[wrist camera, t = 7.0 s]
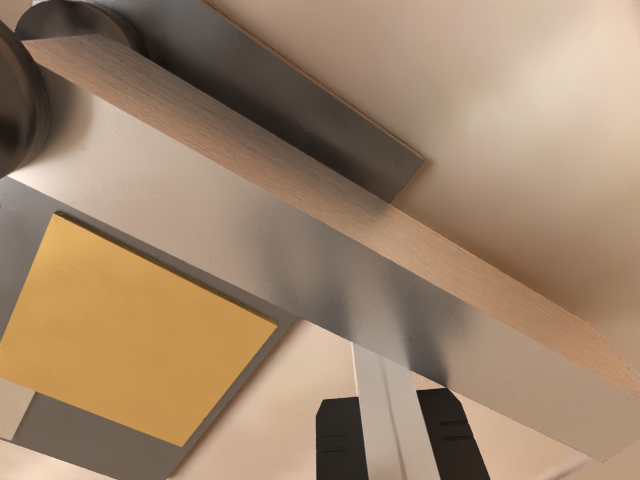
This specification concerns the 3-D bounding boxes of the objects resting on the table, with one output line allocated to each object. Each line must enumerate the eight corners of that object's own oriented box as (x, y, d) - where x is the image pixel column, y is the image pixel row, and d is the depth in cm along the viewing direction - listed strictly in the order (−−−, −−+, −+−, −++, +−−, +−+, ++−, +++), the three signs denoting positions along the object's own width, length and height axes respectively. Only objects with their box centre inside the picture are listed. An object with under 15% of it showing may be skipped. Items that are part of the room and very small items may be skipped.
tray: (78, -89, 11) (29, -109, 9) (419, 153, 15) (434, 174, 13) (-77, 393, 20) (-119, 434, 18) (160, 478, 23) (146, 520, 21)
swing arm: (-6, 85, 11) (-213, 132, 7) (23, -35, 10) (-208, -75, 6) (532, 372, 16) (612, 503, 12) (597, 316, 15) (714, 441, 11)
